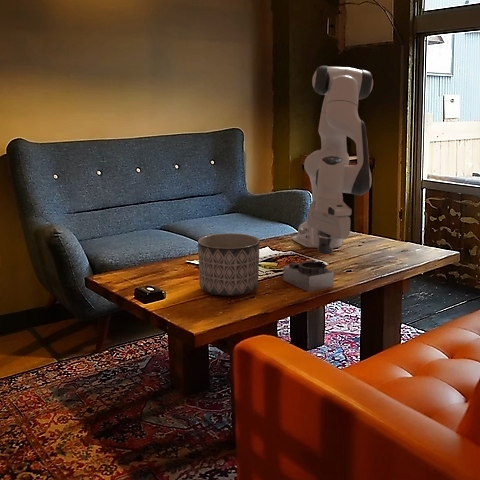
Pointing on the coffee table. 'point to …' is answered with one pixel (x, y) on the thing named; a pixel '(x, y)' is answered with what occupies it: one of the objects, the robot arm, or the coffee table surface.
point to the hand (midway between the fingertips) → (325, 245)
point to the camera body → (309, 275)
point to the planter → (228, 263)
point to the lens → (324, 243)
